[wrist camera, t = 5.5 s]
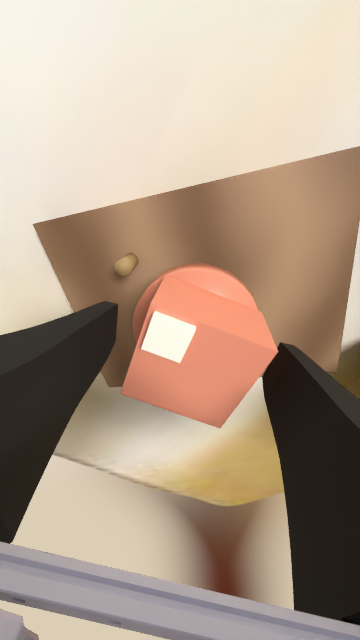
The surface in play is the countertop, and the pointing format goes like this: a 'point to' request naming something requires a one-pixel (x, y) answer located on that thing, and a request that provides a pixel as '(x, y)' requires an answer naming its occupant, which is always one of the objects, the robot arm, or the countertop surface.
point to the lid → (197, 343)
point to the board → (225, 250)
